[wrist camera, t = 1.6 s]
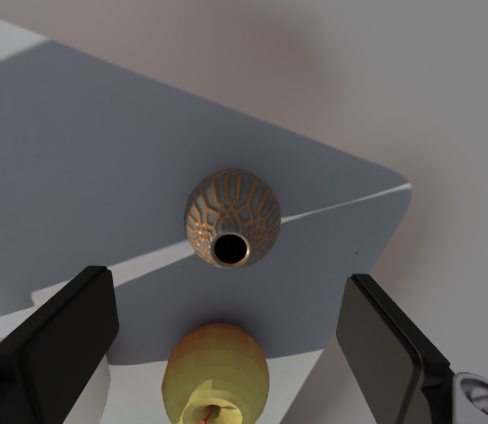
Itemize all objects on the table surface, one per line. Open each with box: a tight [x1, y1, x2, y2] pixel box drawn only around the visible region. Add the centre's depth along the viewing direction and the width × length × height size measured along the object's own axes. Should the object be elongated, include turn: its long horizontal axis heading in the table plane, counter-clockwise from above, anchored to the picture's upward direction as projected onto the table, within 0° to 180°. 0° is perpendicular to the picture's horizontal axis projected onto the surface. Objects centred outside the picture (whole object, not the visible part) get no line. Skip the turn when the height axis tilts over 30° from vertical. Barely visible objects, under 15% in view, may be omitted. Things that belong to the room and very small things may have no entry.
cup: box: [0, 335, 111, 424], centre depth 22 cm, size 12×12×10 cm
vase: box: [184, 169, 281, 269], centre depth 17 cm, size 7×7×9 cm
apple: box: [161, 323, 269, 424], centre depth 23 cm, size 10×10×8 cm
